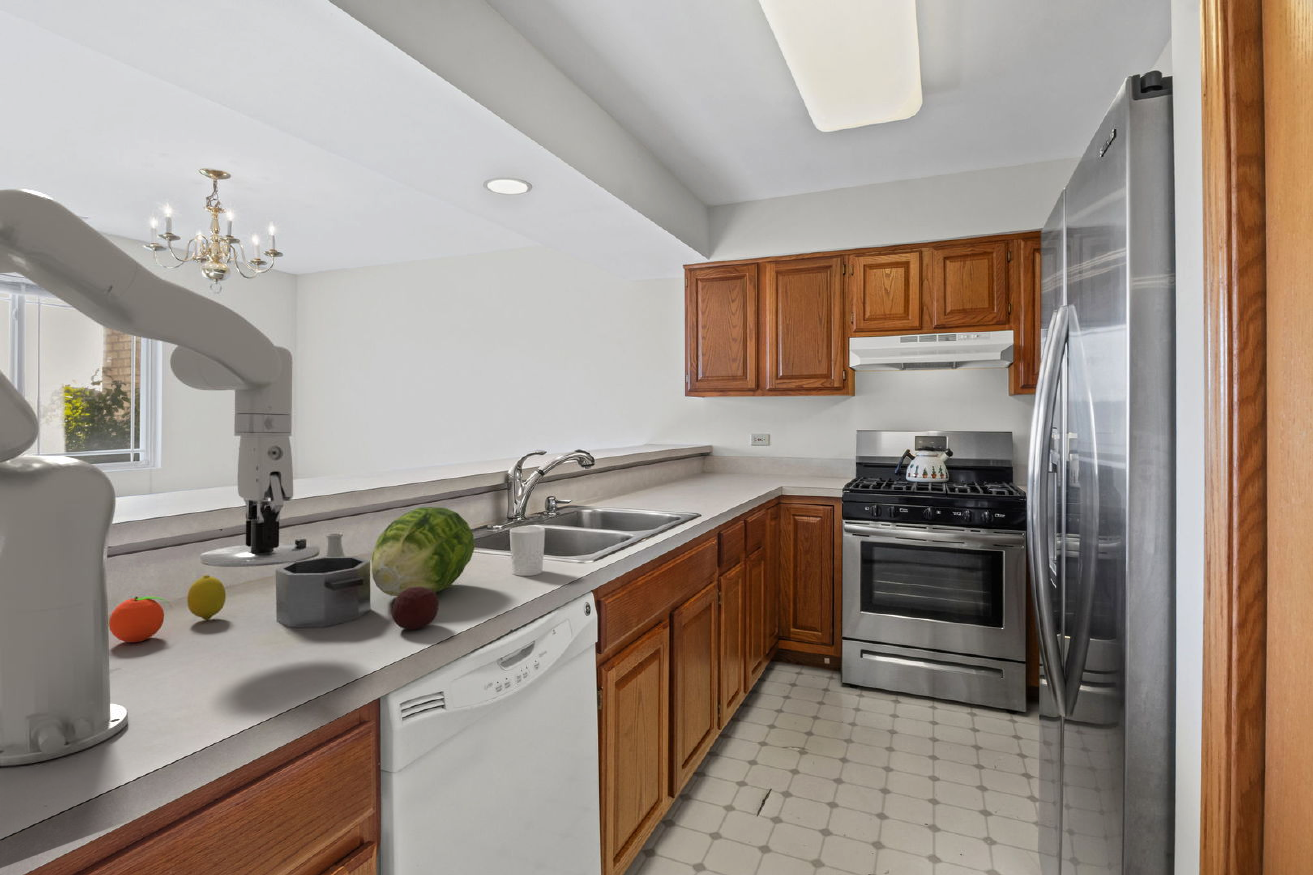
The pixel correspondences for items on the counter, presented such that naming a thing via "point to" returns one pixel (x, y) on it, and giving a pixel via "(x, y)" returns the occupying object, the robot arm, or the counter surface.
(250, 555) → the lid
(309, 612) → the pot
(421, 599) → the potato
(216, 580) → the lemon
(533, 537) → the white cup
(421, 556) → the lettuce
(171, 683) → the counter surface
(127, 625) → the clementine
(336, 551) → the grey flared column
